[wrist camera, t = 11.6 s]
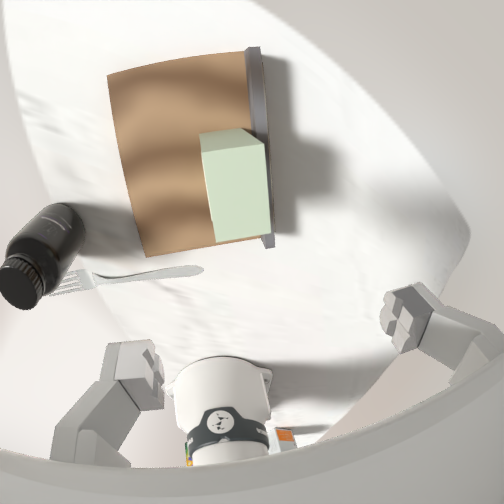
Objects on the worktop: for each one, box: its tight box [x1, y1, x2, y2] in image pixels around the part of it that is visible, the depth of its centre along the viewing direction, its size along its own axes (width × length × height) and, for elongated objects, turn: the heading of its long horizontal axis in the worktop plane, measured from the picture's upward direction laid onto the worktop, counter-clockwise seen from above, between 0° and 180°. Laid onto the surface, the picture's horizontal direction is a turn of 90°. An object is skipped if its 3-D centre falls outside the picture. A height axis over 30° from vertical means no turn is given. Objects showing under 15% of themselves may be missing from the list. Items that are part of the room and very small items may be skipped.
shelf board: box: [107, 47, 275, 258], centre depth 27 cm, size 20×14×4 cm
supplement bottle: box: [0, 204, 85, 310], centre depth 24 cm, size 7×7×12 cm
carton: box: [199, 128, 271, 243], centre depth 24 cm, size 4×6×10 cm, turn 5°
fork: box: [49, 265, 204, 296], centre depth 34 cm, size 3×24×2 cm, turn 90°
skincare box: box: [267, 428, 297, 455], centre depth 58 cm, size 6×4×12 cm
